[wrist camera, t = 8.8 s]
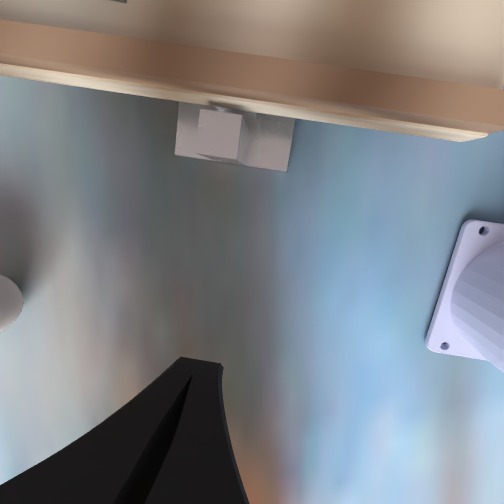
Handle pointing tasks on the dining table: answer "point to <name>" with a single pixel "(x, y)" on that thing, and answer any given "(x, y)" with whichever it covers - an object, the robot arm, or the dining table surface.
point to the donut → (9, 302)
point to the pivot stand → (234, 136)
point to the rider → (122, 0)
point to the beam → (278, 57)
